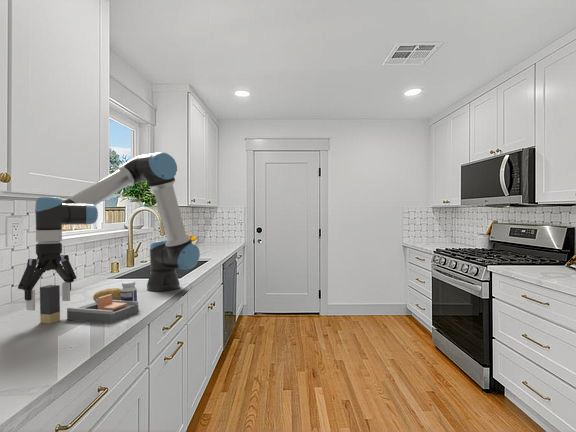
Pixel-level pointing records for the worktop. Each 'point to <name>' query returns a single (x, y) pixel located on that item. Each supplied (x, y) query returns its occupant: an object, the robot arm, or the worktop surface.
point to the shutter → (108, 303)
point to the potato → (115, 294)
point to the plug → (49, 304)
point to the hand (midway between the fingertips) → (49, 305)
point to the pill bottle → (129, 291)
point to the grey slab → (102, 312)
